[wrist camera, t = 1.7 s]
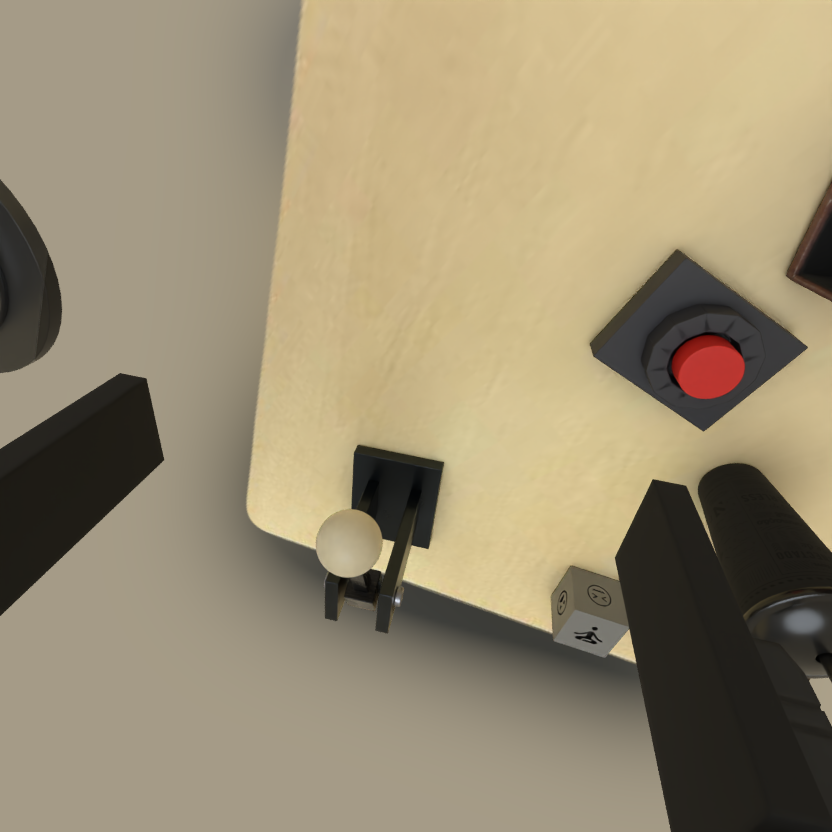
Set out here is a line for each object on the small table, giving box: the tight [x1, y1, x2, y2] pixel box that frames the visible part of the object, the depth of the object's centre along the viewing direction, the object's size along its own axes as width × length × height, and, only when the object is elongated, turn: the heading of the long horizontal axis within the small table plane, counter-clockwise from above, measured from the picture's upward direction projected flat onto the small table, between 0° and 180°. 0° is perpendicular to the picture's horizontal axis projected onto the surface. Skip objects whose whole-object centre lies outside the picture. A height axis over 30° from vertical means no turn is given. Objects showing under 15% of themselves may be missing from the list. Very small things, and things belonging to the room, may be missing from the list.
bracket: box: [324, 445, 444, 633], centre depth 41 cm, size 10×8×13 cm
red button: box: [672, 335, 745, 399], centre depth 30 cm, size 4×4×2 cm
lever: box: [316, 509, 383, 611], centre depth 32 cm, size 14×4×4 cm, turn 174°
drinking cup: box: [698, 464, 832, 682], centre depth 31 cm, size 8×8×20 cm
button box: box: [590, 250, 808, 431], centre depth 32 cm, size 10×8×4 cm
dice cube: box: [551, 566, 629, 657], centre depth 46 cm, size 5×5×5 cm
